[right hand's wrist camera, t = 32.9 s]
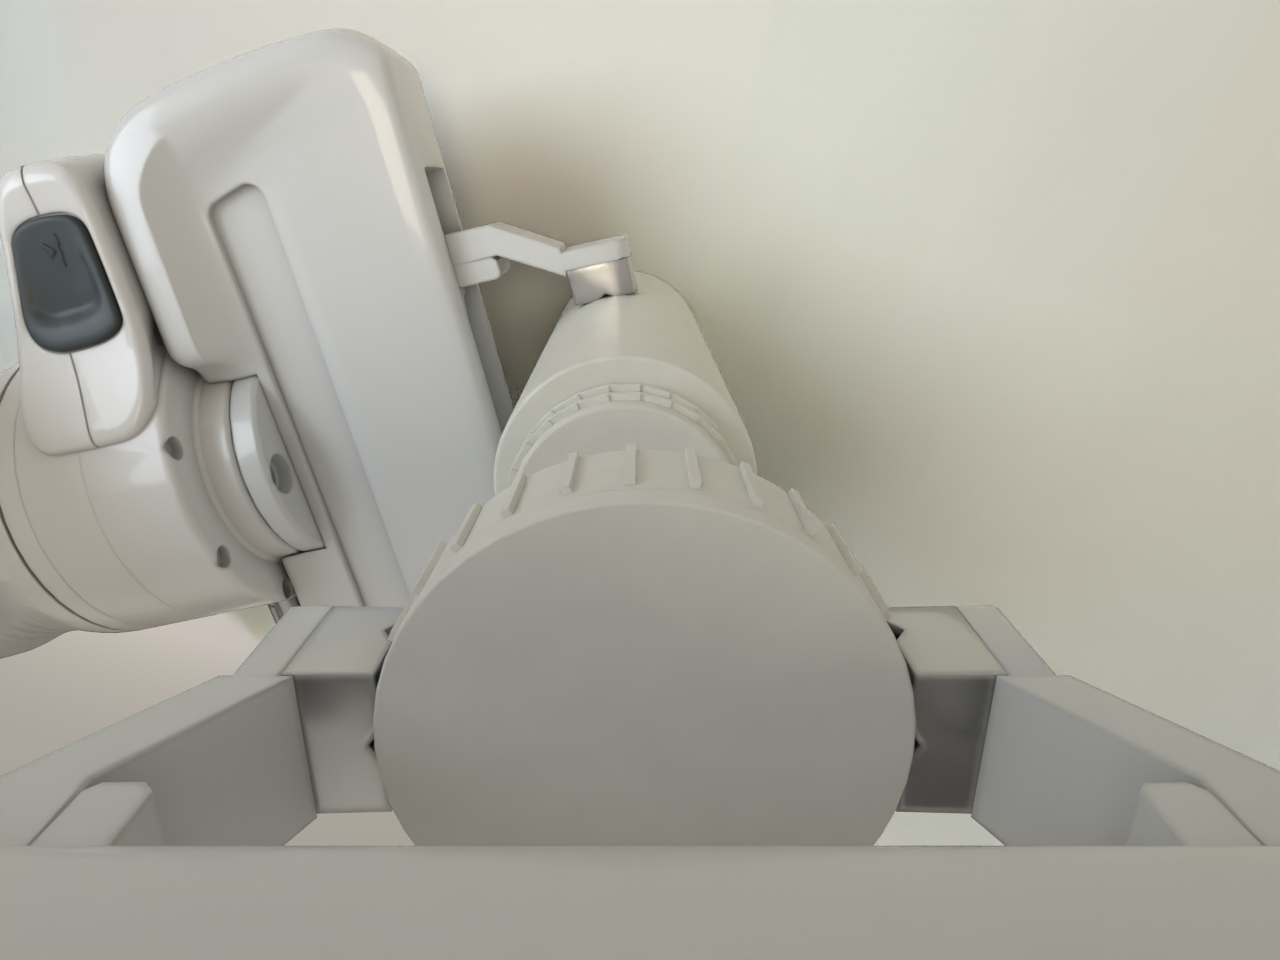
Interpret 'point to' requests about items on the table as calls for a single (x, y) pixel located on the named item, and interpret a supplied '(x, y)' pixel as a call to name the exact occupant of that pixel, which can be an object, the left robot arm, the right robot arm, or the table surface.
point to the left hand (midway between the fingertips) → (656, 371)
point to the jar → (623, 387)
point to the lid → (644, 669)
